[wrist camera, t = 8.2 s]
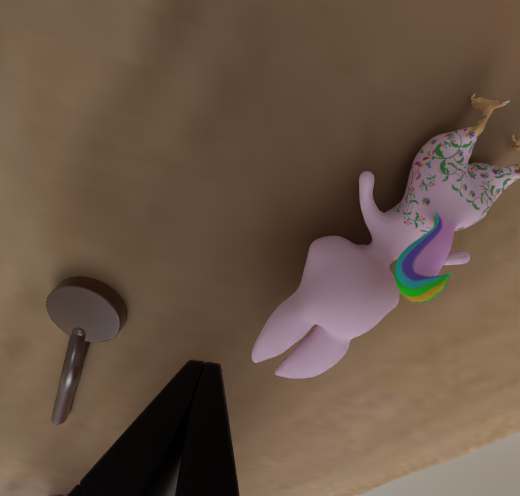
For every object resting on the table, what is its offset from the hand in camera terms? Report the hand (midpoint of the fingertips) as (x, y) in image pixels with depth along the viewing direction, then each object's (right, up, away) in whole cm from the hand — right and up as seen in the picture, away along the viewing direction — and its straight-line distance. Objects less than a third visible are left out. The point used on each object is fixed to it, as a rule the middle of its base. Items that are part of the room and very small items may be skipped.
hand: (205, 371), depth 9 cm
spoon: (-11, -4, +14) cm, 18 cm away
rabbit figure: (+6, +3, +8) cm, 10 cm away
